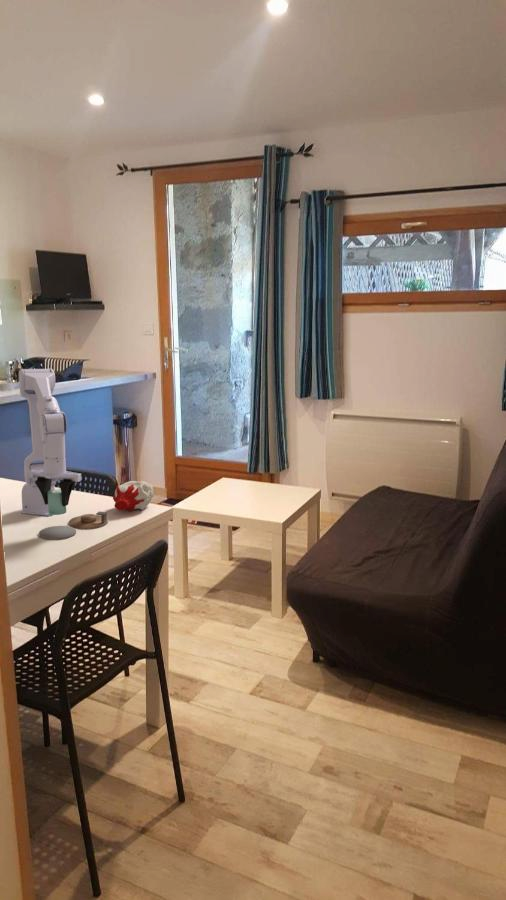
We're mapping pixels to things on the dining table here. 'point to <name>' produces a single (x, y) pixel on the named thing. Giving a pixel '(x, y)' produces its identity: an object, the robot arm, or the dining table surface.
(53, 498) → the kettle
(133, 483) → the multicoloured piece
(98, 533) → the dining table surface
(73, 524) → the tan wide-brim hat
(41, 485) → the robot arm
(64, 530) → the coaster
